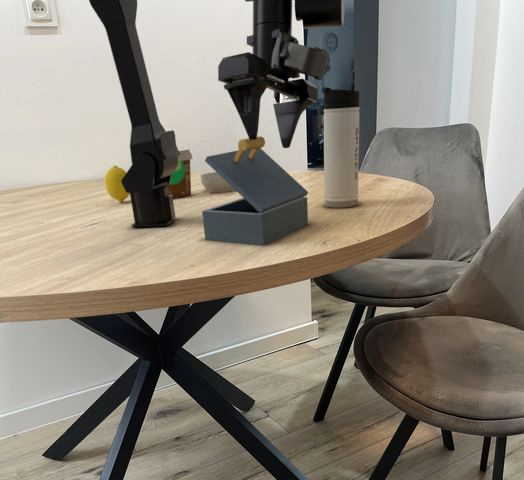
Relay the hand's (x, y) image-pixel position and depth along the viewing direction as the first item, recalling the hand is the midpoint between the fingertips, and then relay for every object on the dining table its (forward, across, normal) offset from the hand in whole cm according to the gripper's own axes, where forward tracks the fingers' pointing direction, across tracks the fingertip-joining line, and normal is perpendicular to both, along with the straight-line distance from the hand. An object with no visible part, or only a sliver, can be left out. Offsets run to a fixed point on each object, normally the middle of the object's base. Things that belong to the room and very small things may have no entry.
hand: (270, 143), depth 78 cm
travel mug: (+8, +22, -1) cm, 24 cm away
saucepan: (+4, +33, +32) cm, 46 cm away
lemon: (+7, +13, +49) cm, 51 cm away
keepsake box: (+13, 0, +2) cm, 13 cm away
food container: (+6, +20, +42) cm, 47 cm away
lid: (+5, -2, +1) cm, 6 cm away
